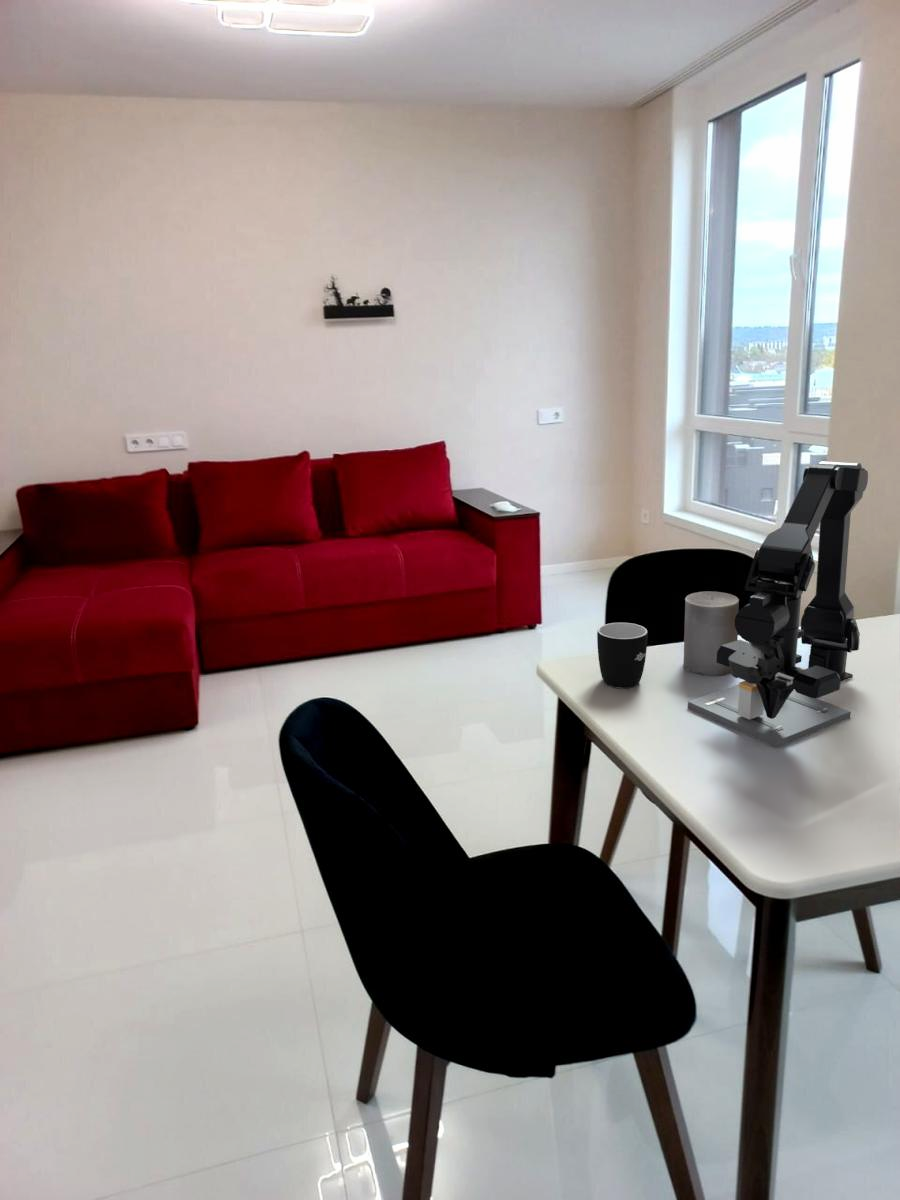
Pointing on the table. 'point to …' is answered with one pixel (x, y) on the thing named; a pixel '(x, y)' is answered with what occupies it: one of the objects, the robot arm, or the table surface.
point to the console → (786, 727)
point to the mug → (622, 653)
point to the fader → (749, 701)
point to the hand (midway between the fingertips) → (771, 717)
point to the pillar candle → (708, 630)
